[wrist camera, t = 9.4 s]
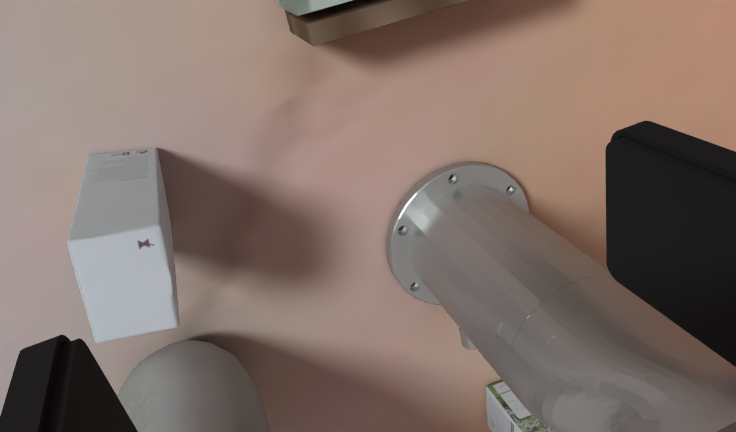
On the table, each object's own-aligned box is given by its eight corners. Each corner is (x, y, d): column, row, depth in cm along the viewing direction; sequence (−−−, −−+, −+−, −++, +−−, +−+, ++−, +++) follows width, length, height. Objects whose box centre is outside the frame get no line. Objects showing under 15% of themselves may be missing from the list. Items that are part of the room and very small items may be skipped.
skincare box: (85, 153, 36) (63, 238, 26) (157, 145, 37) (163, 222, 27) (106, 240, 39) (93, 347, 29) (172, 229, 40) (183, 329, 30)
